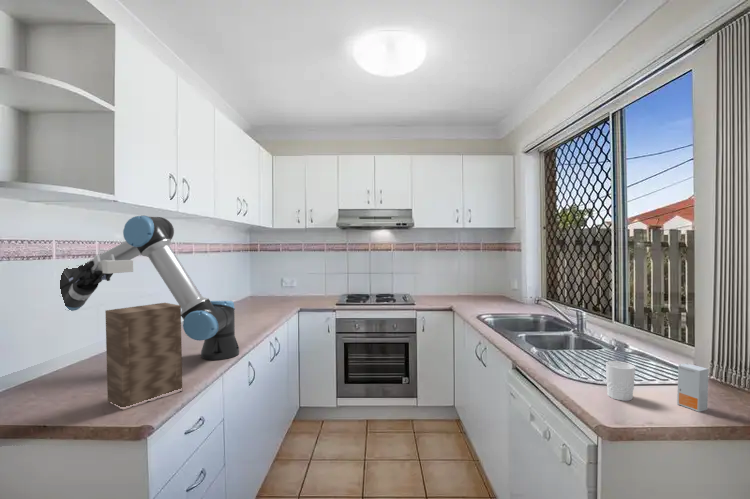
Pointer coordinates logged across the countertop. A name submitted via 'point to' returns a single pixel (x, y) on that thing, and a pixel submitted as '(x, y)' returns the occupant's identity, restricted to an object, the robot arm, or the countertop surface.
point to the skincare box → (692, 387)
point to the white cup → (620, 380)
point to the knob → (115, 266)
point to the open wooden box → (143, 352)
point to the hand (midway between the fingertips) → (105, 257)
